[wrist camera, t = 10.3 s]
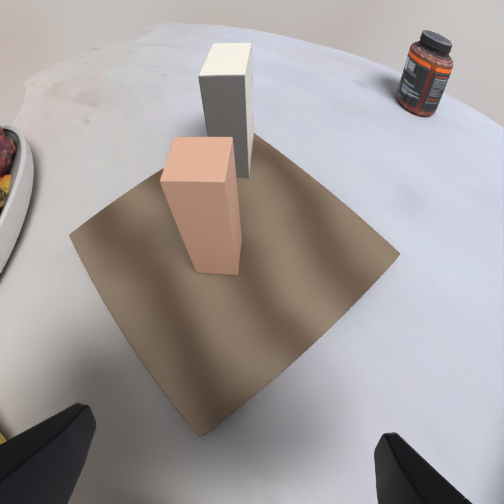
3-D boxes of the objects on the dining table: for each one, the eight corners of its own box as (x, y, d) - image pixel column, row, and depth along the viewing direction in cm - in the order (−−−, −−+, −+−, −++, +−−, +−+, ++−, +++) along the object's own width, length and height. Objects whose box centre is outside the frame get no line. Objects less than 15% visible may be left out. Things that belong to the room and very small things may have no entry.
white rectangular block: (248, 178, 27) (244, 76, 18) (214, 177, 27) (198, 77, 18) (253, 135, 29) (251, 43, 20) (223, 135, 30) (213, 43, 20)
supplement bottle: (439, 110, 35) (464, 46, 25) (425, 124, 33) (454, 52, 23) (404, 88, 37) (424, 24, 27) (387, 100, 35) (408, 28, 25)
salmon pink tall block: (237, 275, 22) (224, 182, 13) (196, 272, 22) (159, 181, 14) (241, 238, 24) (232, 137, 15) (202, 236, 24) (174, 137, 15)
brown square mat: (202, 435, 18) (199, 436, 17) (74, 241, 26) (68, 235, 25) (395, 260, 24) (400, 253, 23) (240, 132, 31) (240, 123, 30)
